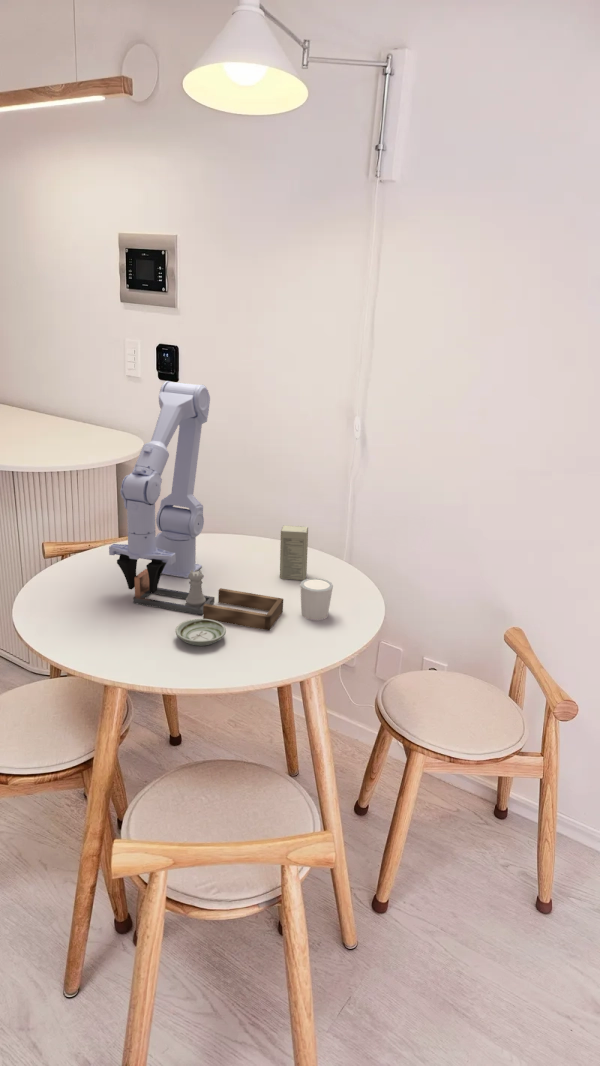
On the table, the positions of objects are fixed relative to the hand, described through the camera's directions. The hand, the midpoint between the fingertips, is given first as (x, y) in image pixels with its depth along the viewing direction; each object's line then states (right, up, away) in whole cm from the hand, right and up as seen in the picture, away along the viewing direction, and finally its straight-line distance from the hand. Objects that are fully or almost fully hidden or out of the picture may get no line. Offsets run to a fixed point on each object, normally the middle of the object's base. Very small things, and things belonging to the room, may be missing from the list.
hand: (142, 589), depth 151 cm
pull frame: (+7, -3, -1) cm, 8 cm away
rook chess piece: (+12, -4, -2) cm, 12 cm away
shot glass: (+37, -5, -2) cm, 38 cm away
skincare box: (+32, +2, +16) cm, 36 cm away
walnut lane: (+22, -5, -5) cm, 23 cm away
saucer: (+15, -9, -16) cm, 23 cm away
